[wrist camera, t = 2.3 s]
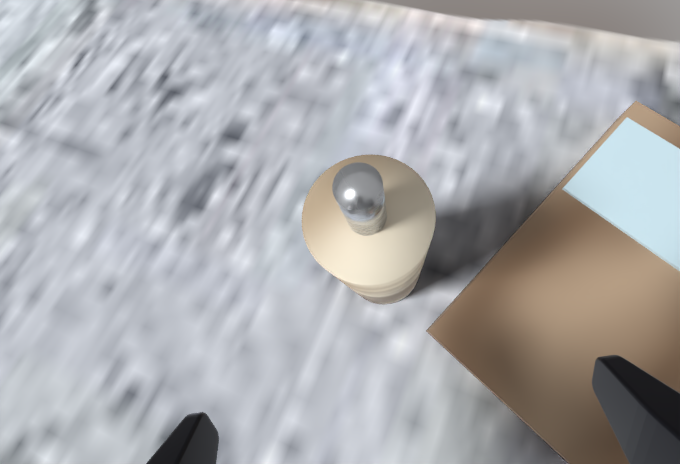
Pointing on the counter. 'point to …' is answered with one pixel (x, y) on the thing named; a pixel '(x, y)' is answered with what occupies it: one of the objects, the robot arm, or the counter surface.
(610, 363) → the robot arm
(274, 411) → the counter surface
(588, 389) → the subfloor panel
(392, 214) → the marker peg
